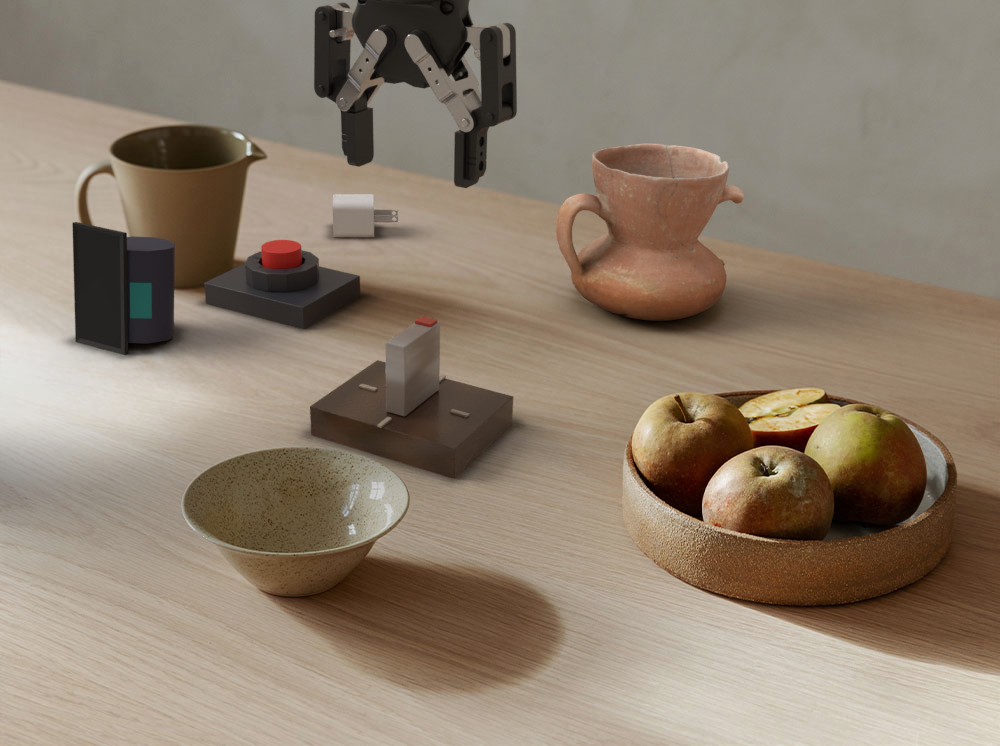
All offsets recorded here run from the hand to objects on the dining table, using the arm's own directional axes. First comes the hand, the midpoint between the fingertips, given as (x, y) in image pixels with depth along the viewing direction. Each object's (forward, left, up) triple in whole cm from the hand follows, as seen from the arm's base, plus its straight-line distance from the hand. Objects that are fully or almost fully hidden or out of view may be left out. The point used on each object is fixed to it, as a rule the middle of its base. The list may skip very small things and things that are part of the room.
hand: (412, 174), depth 75 cm
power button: (-22, +14, -15) cm, 30 cm away
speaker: (-28, +1, -19) cm, 34 cm away
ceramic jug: (+7, +31, -19) cm, 37 cm away
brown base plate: (+1, -1, -19) cm, 19 cm away
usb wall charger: (-26, +34, -19) cm, 47 cm away
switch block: (-22, +14, -19) cm, 32 cm away
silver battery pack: (+1, -1, -17) cm, 17 cm away
